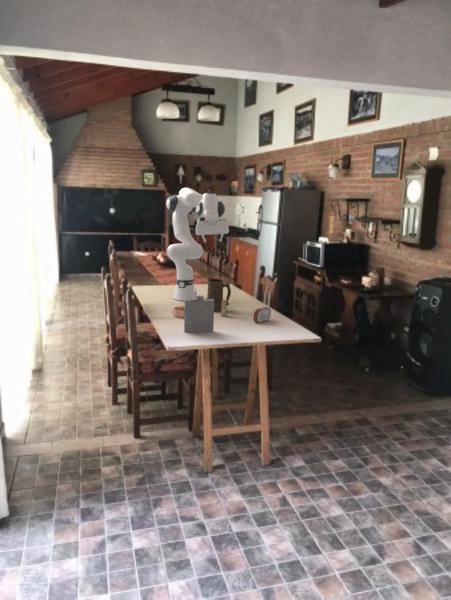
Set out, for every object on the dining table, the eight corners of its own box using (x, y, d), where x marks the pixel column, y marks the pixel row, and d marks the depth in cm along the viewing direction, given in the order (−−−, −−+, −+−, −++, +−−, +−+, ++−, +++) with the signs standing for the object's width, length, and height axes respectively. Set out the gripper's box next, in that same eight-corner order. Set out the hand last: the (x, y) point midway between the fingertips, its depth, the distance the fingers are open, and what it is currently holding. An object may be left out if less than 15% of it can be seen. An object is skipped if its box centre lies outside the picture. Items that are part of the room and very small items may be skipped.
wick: (223, 315, 307) (223, 299, 305) (226, 315, 307) (226, 299, 305) (221, 316, 304) (221, 300, 302) (224, 316, 303) (224, 300, 301)
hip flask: (212, 330, 272) (213, 294, 268) (214, 332, 268) (215, 296, 264) (183, 331, 268) (184, 294, 264) (184, 333, 265) (185, 296, 260)
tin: (267, 319, 301) (267, 305, 300) (271, 320, 300) (272, 306, 298) (252, 323, 290) (253, 309, 288) (256, 324, 288) (257, 310, 286)
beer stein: (207, 312, 313) (210, 280, 309) (203, 308, 323) (206, 278, 320) (230, 313, 318) (233, 282, 314) (226, 309, 328) (229, 279, 324)
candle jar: (177, 311, 312) (178, 305, 311) (197, 313, 308) (198, 307, 308) (169, 316, 299) (169, 309, 299) (190, 318, 296) (190, 312, 295)
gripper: (227, 219, 307) (229, 241, 306) (194, 220, 303) (196, 243, 303) (229, 217, 300) (230, 240, 300) (195, 218, 297) (197, 241, 297)
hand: (213, 241), depth 302 cm, fingers open, 8 cm apart
